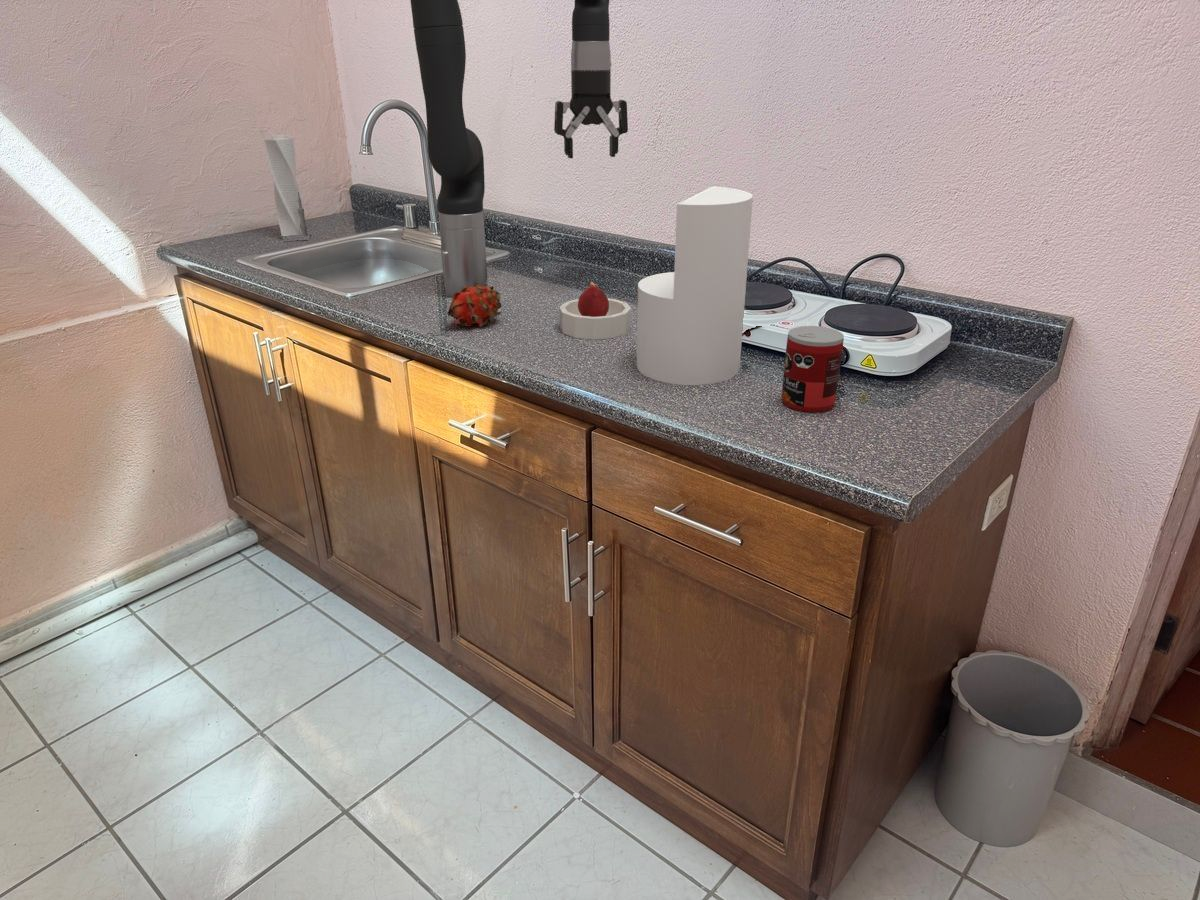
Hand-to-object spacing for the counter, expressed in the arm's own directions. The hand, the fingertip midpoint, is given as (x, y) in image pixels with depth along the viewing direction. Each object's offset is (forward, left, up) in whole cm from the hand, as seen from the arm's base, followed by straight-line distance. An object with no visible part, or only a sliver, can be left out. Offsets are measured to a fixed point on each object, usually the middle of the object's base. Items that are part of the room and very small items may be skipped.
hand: (591, 157), depth 167 cm
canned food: (+20, -64, -28) cm, 73 cm away
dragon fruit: (-26, -15, -28) cm, 41 cm away
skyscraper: (-68, +72, -28) cm, 103 cm away
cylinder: (+7, -45, -28) cm, 54 cm away
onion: (-4, -22, -27) cm, 35 cm away
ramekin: (-4, -22, -28) cm, 36 cm away
